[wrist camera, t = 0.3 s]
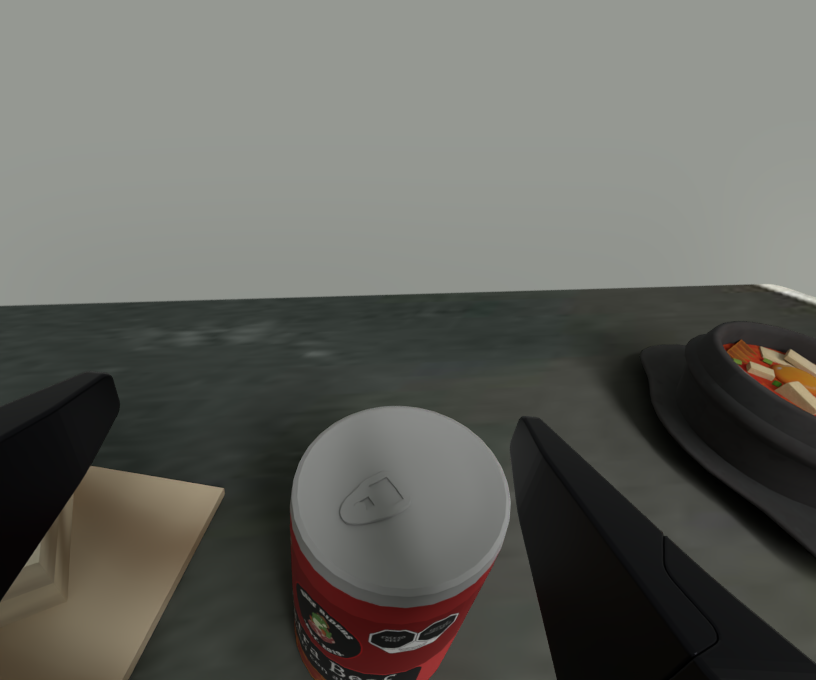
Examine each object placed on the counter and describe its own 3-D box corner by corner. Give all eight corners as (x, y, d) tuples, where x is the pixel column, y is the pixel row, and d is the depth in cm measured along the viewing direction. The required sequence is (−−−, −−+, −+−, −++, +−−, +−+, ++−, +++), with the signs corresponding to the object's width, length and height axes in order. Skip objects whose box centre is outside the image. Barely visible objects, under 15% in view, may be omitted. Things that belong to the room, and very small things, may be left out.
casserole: (1025, 607, 27) (1182, 537, 22) (784, 623, 24) (906, 546, 19) (738, 362, 47) (788, 298, 42) (588, 354, 44) (623, 283, 39)
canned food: (260, 626, 20) (239, 487, 14) (370, 512, 26) (392, 377, 19) (382, 766, 17) (429, 670, 10) (477, 601, 22) (546, 473, 16)
